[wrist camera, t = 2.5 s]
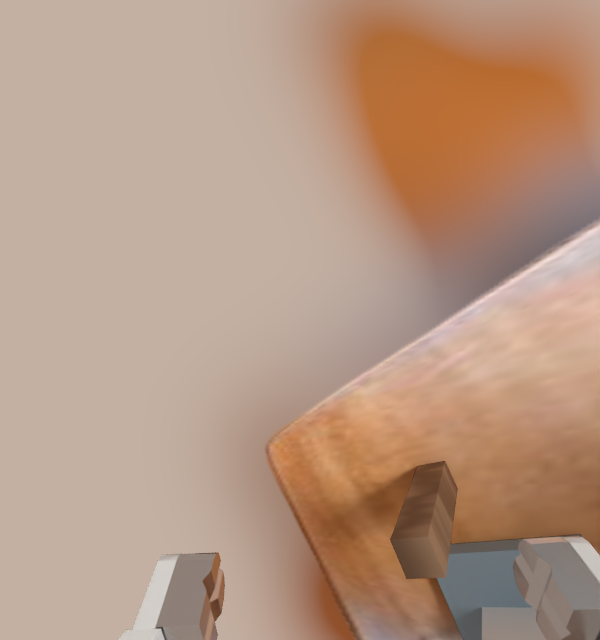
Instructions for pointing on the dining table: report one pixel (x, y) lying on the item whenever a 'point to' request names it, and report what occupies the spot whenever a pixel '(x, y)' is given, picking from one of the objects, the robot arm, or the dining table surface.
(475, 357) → the dining table surface
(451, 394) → the dining table surface
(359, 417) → the dining table surface
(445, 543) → the brown wooden peg
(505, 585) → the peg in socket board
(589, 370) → the dining table surface
